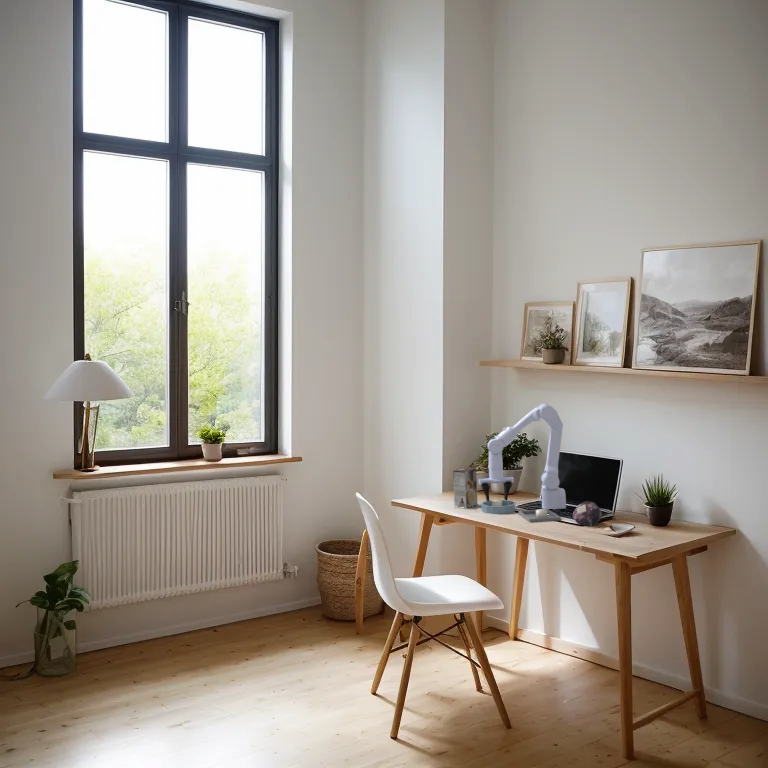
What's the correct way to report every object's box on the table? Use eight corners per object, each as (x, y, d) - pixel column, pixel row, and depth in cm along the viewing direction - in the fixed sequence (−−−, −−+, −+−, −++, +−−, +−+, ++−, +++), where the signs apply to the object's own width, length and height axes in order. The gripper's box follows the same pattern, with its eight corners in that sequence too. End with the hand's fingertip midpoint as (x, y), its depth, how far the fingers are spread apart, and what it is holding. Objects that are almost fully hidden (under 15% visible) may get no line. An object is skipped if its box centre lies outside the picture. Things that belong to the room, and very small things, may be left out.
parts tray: (548, 514, 352) (548, 509, 351) (560, 522, 336) (560, 517, 336) (518, 516, 350) (518, 511, 350) (529, 524, 335) (529, 519, 335)
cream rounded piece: (545, 517, 342) (545, 508, 342) (548, 519, 338) (548, 511, 338) (534, 518, 342) (534, 509, 342) (537, 520, 337) (537, 511, 337)
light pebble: (500, 507, 363) (500, 499, 363) (503, 509, 359) (503, 501, 359) (490, 508, 363) (490, 500, 362) (493, 510, 358) (493, 502, 358)
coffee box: (465, 503, 380) (464, 467, 379) (477, 505, 376) (476, 468, 375) (454, 507, 373) (452, 470, 372) (466, 508, 369) (465, 471, 368)
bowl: (510, 508, 366) (510, 499, 366) (519, 515, 353) (519, 505, 352) (478, 510, 365) (478, 501, 364) (486, 517, 351) (486, 507, 351)
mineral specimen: (565, 520, 332) (574, 495, 333) (589, 528, 334) (598, 504, 335) (576, 524, 323) (585, 499, 323) (600, 533, 325) (609, 508, 325)
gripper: (480, 470, 355) (482, 503, 356) (515, 468, 357) (516, 501, 358) (477, 467, 362) (478, 500, 363) (510, 465, 364) (511, 497, 365)
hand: (496, 500), depth 361 cm, fingers open, 7 cm apart
